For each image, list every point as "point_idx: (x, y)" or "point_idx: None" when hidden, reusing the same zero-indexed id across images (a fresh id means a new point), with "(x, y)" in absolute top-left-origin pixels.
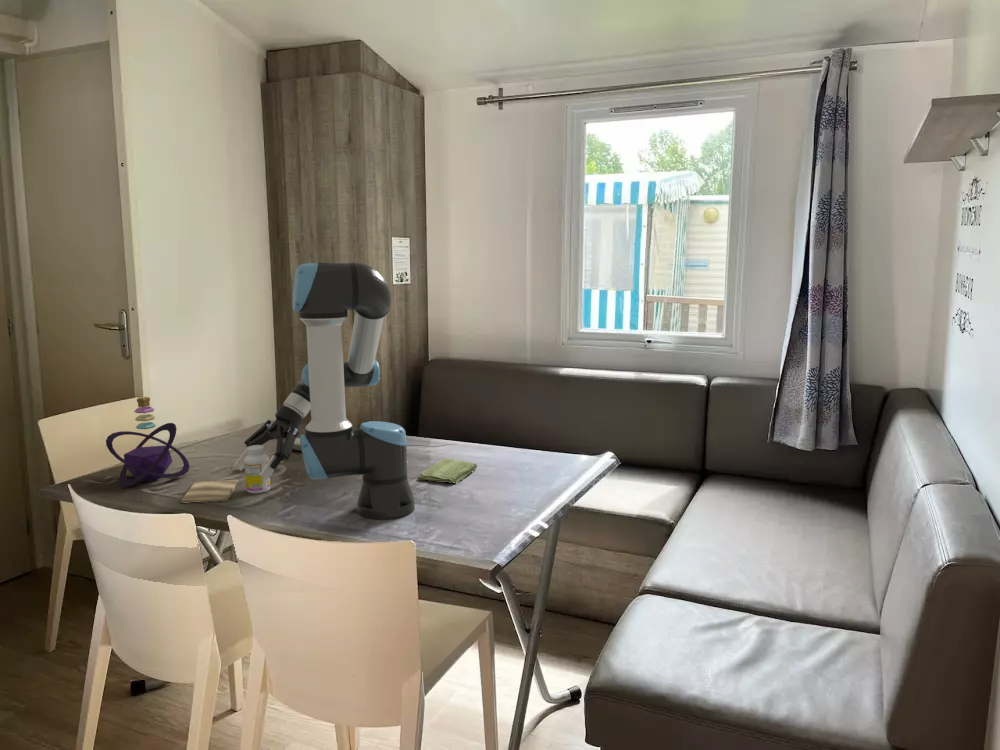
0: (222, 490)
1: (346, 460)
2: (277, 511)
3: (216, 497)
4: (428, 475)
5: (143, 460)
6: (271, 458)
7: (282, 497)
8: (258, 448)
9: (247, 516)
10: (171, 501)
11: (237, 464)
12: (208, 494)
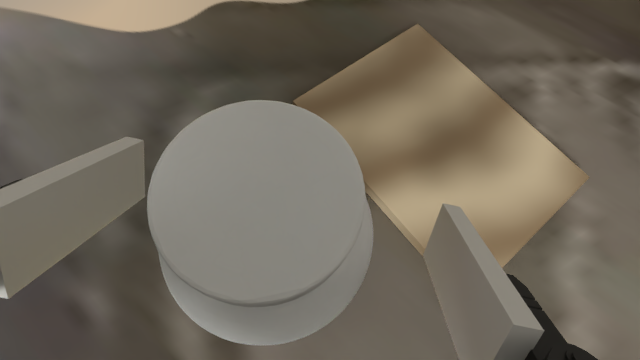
0: (386, 150)
1: None
2: (11, 112)
3: (332, 86)
4: None
5: None
6: (16, 193)
7: (92, 247)
8: (173, 160)
9: (101, 38)
10: (461, 36)
11: (443, 219)
12: (390, 95)
